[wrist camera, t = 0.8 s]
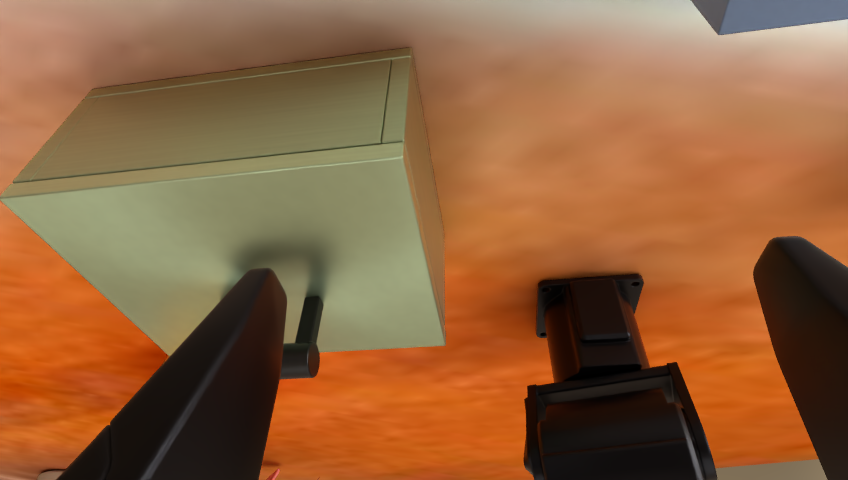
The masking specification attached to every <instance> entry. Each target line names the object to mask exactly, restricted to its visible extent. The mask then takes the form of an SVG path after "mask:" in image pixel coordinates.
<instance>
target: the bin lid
mask: <svg viewBox="0 0 848 480" xmlns="http://www.w3.org/2000/svg"><path fill="white" fill-rule="evenodd" d="M0 200H1V201H2V202H3V203H4V204H5V205H6V206H7V207H8V208H9V209H10V210H11V211H13V212H14V213H15V214H16V215H17V216H18V217H19V218H20V219H21V220H22V221H23V222H24V223H26V224H27V225H28V226H29V227H30V228H31V229H32V230H33V231H34V232H35V233H36V234H37V235H39V236H40V237H41V238H42V239H43V240H44V241H45V242H46V243H47V244H48V245H49V246H50V247H52V248H53V249H54V250H55V251H56V252H57V253H58V254H59V255H60V256H61V257H62V258H63V259H65V260H66V261H67V262H68V263H69V264H70V265H71V266H72V267H73V268H74V269H75V270H76V271H78V272H79V273H80V274H81V275H82V276H83V277H84V278H85V279H86V280H87V281H88V282H89V283H91V284H92V285H93V286H94V287H95V288H96V289H97V290H98V291H99V292H100V293H101V294H102V295H104V296H105V297H106V298H107V299H108V300H109V301H110V302H111V303H112V304H113V305H114V306H116V307H117V308H118V309H119V310H120V311H121V312H122V313H123V314H124V315H125V316H126V317H127V318H129V319H130V320H131V321H132V322H133V323H134V324H135V325H136V326H137V327H138V328H139V329H140V330H142V331H143V332H144V333H145V334H146V335H147V336H148V337H149V338H150V339H151V340H152V341H153V342H155V343H156V344H157V345H158V346H159V347H160V348H161V349H162V350H163V351H164V352H165V353H166V354H168V355H169V356H171V355H172V353H173V352H174V351H175V350H176V349H177V348H178V347H179V346H180V345H181V344H182V342H183V341H184V340H185V339H186V338H187V337H188V336H189V335H190V334H191V333H192V331H193V330H194V329H195V328H196V327H197V326H198V325H199V324H200V323H201V322H202V321H203V319H204V318H205V317H206V316H207V315H208V314H209V313H210V312H211V311H212V310H213V308H214V307H215V306H216V305H217V304H218V303H219V302H220V301H221V300H222V299H223V297H224V296H225V295H226V294H227V293H228V292H229V291H230V290H231V289H232V288H233V286H234V285H235V284H236V283H237V282H238V281H239V280H240V279H241V278H242V277H243V275H244V274H245V273H246V272H247V271H249V270H250V269H254V268H271V269H272V270H273V271H274V272H275V274H276V276H277V278H278V279H279V281H280V283H281V285H282V287H283V288H284V290H285V292H286V296H287V311H286V322H285V333H284V344H283V354H282V365H281V373H280V379H296V378H313V377H315V376H316V375H317V373H318V369H319V362H320V356H319V352H336V351H355V350H373V349H392V348H410V347H429V346H445V345H446V331H445V327H444V322H443V317H442V313H441V308H440V304H439V299H438V295H437V290H436V286H435V281H434V276H433V272H432V267H431V263H430V258H429V254H428V249H427V245H426V240H425V235H424V231H423V226H422V222H421V217H420V213H419V208H418V203H417V199H416V194H415V190H414V185H413V181H412V176H411V172H410V167H409V162H408V158H407V153H406V149H405V144H404V143H403V142H397V143H388V144H379V145H369V146H360V147H351V148H341V149H332V150H323V151H313V152H304V153H295V154H285V155H276V156H267V157H257V158H248V159H239V160H229V161H220V162H211V163H201V164H192V165H183V166H173V167H164V168H155V169H145V170H136V171H127V172H117V173H108V174H99V175H89V176H80V177H71V178H61V179H52V180H43V181H33V182H24V183H15V184H10V185H9V186H8V188H7V189H6V190H5V191H4V192H3V193H2V194H1V196H0Z"/></svg>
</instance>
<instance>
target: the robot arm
mask: <svg viewBox="0 0 848 480" xmlns="http://www.w3.org/2000/svg"><path fill="white" fill-rule="evenodd" d="M753 276H754V282H755V285H756V289H757V292H758V296H759V300H760V303H761V307H762V310H763V314H764V317H765V321H766V324H767V328H768V331H769V335H770V338H771V342H772V345H773V348H774V351H775V354H776V357H777V360H778V363H779V365H780V368H781V370H782V373H783V375H784V377H785V380H786V382H787V384H788V387H789V389H790V392H791V394H792V396H793V399H794V401H795V403H796V406H797V408H798V411H799V413H800V415H801V418H802V420H803V422H804V425H805V427H806V430H807V432H808V434H809V437H810V439H811V441H812V444H813V446H814V448H815V451H816V453H817V456H818V458H819V460H820V463H821V465H822V467H823V470H824V472H825V475H826V477H827V479H828V480H848V267H846V266H845V265H843V264H842V263H840V262H839V261H837V260H836V259H834V258H833V257H831V256H830V255H828V254H827V253H825V252H824V251H822V250H821V249H819V248H818V247H816V246H815V245H813V244H812V243H810V242H809V241H807V240H806V239H804V238H802V237H798V236H788V237H776V238H773V239H771V240H770V241H769V242H768V244H767V246H766V248H765V249H764V251H763V253H762V254H761V256H760V258H759V260H758V261H757V263H756V265H755V267H754V272H753ZM643 284H644V282H643V279H642V276H641V275H639V274H630V275H616V276H601V277H587V278H572V279H558V280H545V281H541V282H540V283H538V287H537V313H536V334H537V336H538V337H540V338H547V340H548V347H549V353H550V359H551V365H552V371H553V378H554V383H551V384H545V385H538V386H537V385H536V384H535V385H529V386H527V390H528V397H527V398H526V399H524V400H525V409H526V441H525V451H524V466H525V468H526V470H528V471H529V472H530V473H531V474H532V475H533V477H534V480H717V475H716V470H715V466H714V462H713V458H712V455H711V451H710V448H709V445H708V442H707V439H706V436H705V433H704V430H703V427H702V424H701V422H700V419H699V417H698V414H697V412H696V409H695V407H694V404H693V402H692V399H691V397H690V394H689V392H688V389H687V387H686V384H685V382H684V379H683V377H682V374H681V372H680V369H679V367H678V364H677V362H673V363H667V365H664V366H658V367H652V368H650V365H649V362H648V359H647V356H646V352H645V349H644V346H643V342H642V339H641V336H640V333H639V329H638V326H637V323H636V320H635V316H634V313H635V310H636V307H637V304H638V300H639V297H640V294H641V290H642V287H643ZM286 311H287V296H286V292H285V290H284V288H283V287H282V285H281V283H280V281H279V279H278V278H277V276H276V274H275V272H274V271H273V270H272V269H271V268H254V269H250V270H249V271H247V272H246V273H245V274H244V275H243V277H242V278H241V279H240V280H239V281H238V282H237V283H236V284H235V285H234V286H233V288H232V289H231V290H230V291H229V292H228V293H227V294H226V295H225V296H224V297H223V299H222V300H221V301H220V302H219V303H218V304H217V305H216V306H215V307H214V308H213V310H212V311H211V312H210V313H209V314H208V315H207V316H206V317H205V318H204V319H203V321H202V322H201V323H200V324H199V325H198V326H197V327H196V328H195V329H194V330H193V331H192V333H191V334H190V335H189V336H188V337H187V338H186V339H185V340H184V341H183V342H182V344H181V345H180V346H179V347H178V348H177V349H176V350H175V351H174V352H173V353H172V355H171V356H170V357H169V358H168V359H167V360H166V361H165V362H164V363H163V364H162V366H161V367H160V368H159V369H158V370H157V371H156V372H155V373H154V374H153V375H152V377H151V378H150V379H149V380H148V381H147V382H146V383H145V384H144V385H143V386H142V387H141V389H140V390H139V391H138V392H137V393H136V394H135V395H134V396H133V397H132V398H131V400H130V401H129V402H128V403H127V404H126V405H125V406H124V407H123V408H122V409H121V411H120V412H119V413H118V414H117V415H116V416H115V417H114V418H113V419H112V420H111V422H110V425H107V426H106V427H105V428H104V429H103V430H102V431H101V432H100V433H99V434H98V436H97V437H96V438H95V439H94V440H93V441H92V442H91V443H90V444H89V445H88V446H87V448H86V449H85V450H84V451H83V452H82V453H81V454H80V455H79V456H78V457H77V458H76V459H75V460H74V461H73V462H72V463H71V464H70V466H69V467H68V468H67V469H66V470H65V471H64V472H63V473H62V474H61V475H60V476H59V477H58V478H57V479H56V480H258V479H259V474H260V470H261V465H262V460H263V455H264V451H265V446H266V441H267V437H268V432H269V427H270V422H271V418H272V413H273V408H274V403H275V399H276V394H277V389H278V384H279V379H280V373H281V365H282V354H283V344H284V333H285V322H286Z"/></svg>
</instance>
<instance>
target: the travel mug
mask: <svg viewBox="0 0 848 480" xmlns="http://www.w3.org/2000/svg"><path fill="white" fill-rule="evenodd" d="M63 472H64V471H63V470H54V471H47V472H44V473H41V474H39V476H38V478H37V480H56V479H57V478H58V477H59V476H60V475H61V474H62V473H63Z"/></svg>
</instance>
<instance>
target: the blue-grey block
mask: <svg viewBox="0 0 848 480" xmlns="http://www.w3.org/2000/svg"><path fill="white" fill-rule="evenodd" d="M691 1H692V2H693V4H694V5H695V6H696V8H697V9H698V10H699V11H700V13H701V14H702V15H703V16H704V18H705V19H706V20H707V21H708V23H709V24H710V25H711V27H712V28H713V29H714V30H715V32H716V33H717V34H718V35H724V34H732V33H740V32H748V31H756V30H764V29H772V28H780V27H788V26H796V25H804V24H813V23H821V22H829V21H837V20H845V19H848V0H691Z"/></svg>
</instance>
